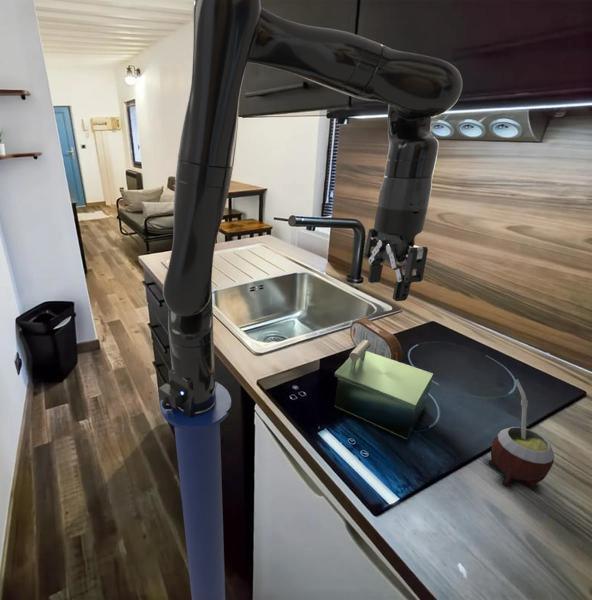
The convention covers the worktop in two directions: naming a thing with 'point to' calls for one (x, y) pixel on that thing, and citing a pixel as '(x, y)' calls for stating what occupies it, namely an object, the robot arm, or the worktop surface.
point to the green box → (378, 409)
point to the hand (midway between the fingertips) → (385, 290)
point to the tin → (376, 339)
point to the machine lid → (384, 376)
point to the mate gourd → (521, 452)
